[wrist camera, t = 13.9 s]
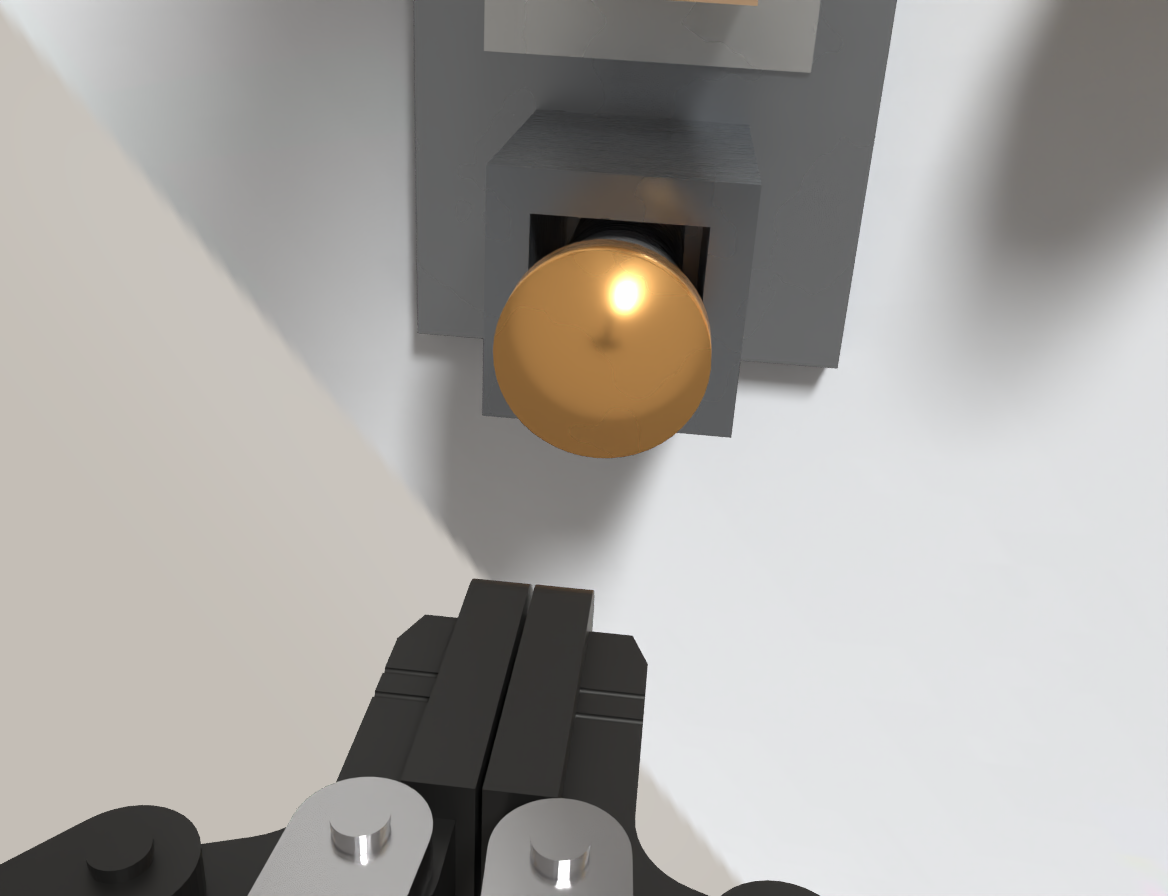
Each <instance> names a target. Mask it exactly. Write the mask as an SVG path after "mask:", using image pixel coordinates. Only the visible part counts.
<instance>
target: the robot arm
mask: <svg viewBox="0 0 1168 896" xmlns="http://www.w3.org/2000/svg"><path fill="white" fill-rule="evenodd" d="M593 612H594V590H585V589H575V588H565V587H555V586H545V585H535V588H534V591H533V590H532V585H531V584H523V583H513V582H503V581H493V580H483V579H472V581H471V583H470V585H469V588H468V591H467V594H466V596H465V599H464V602H463V605H462V608H461V611H460V613H459V617H458V618H453V617H443V616H433V615H424V616H423V617H422V618H421V619H420V620H418V621H417V622H416V623H415V624H414V625H412V626H411V627H410V628H409V629H408V630H407V631H405V632H404V633H403V634H402V635H401V636H400V637H399V638H397V641H396V643H395V646H394V648H393V650H392V653H391V655H390V657H389V659H388V662H387V664H386V667H385V673H383V674H382V676H381V678H380V681H379V683H378V685H377V688H376V690H375V696H374V697H372V699H371V702H370V704H369V707H368V709H367V711H366V713H365V716H364V718H363V720H362V723H361V725H360V728H359V730H358V732H357V735H356V737H355V739H354V742H353V744H352V746H351V749H350V751H349V753H348V756H347V758H346V760H345V763H344V765H343V767H342V770H341V772H340V774H339V777H338V779H337V781H336V783H334V784H331V785H328V786H326V787H324V788H322V789H321V790H319V791H317V792H315V793H314V794H313V795H311V796H310V797H309V798H307V799H306V800H305V801H304V802H303V803H302V804H301V805H300V806H299V808H298V809H297V811H296V812H295V813H294V815H293V816H292V818H291V820H290V822H289V823H288V825H287V827H285V828H283V829H281V830H278V831H275V832H272V833H268V834H264V835H259V836H254V837H249V838H241V839H234V840H227V841H220V842H213V843H206V844H201V842H200V837H199V834H198V831H197V829H196V828H195V826H194V825H193V823H192V822H190V820H189V819H187V818H186V817H185V816H184V815H182V814H180V813H178V812H176V811H174V810H171V809H168V808H165V807H159V806H151V805H138V806H128V807H123V808H118V809H114V810H110V811H107V812H104V813H101V814H99V815H97V816H94V817H92V818H90V819H88V820H86V821H84V822H82V823H80V824H78V825H76V826H74V827H72V828H70V829H68V830H66V831H65V832H63V833H61V834H59V835H57V836H55V837H53V838H51V839H49V840H47V841H45V842H43V843H41V844H39V845H37V846H35V847H34V848H32V849H30V850H28V851H26V852H24V853H22V854H20V855H18V856H16V857H14V858H12V859H10V860H8V861H6V862H4V863H2V864H0V896H708V895H705V894H703V893H700V892H698V891H696V890H693V889H691V888H689V887H687V886H685V885H682V884H680V883H678V882H677V881H675V880H674V879H672V878H670V877H669V876H667V875H666V874H665V873H664V872H662V871H661V870H660V869H659V868H658V867H657V866H656V865H655V864H654V863H653V862H652V861H651V860H650V859H649V858H648V856H647V855H646V853H645V852H644V850H643V848H642V847H641V844H640V842H639V840H638V837H637V833H636V828H635V812H636V799H637V788H638V775H639V763H640V751H641V739H642V727H643V715H644V702H645V690H646V678H647V666H648V664H647V662H646V660H645V658H644V656H643V654H642V653H641V651H640V649H639V647H638V645H637V643H636V641H635V640H634V638H633V636H630V635H620V634H610V633H601V632H592V627H593ZM722 896H820V895H818V894H816V893H814V892H812V891H810V890H808V889H806V888H803V887H800V886H797V885H794V884H790V883H786V882H781V881H769V880H766V881H754V882H749V883H745V884H741V885H739V886H736V887H734V888H732V889H730V890H729V891H727V892H726V893H724V894H723V895H722Z"/></svg>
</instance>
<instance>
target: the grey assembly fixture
mask: <svg viewBox="0 0 1168 896" xmlns="http://www.w3.org/2000/svg"><path fill="white" fill-rule="evenodd" d="M896 3H897V0H758V6H750V5H735V4H719V3H704V2H689V1H673V0H414V61H415V144H416V226H417V309H418V333H424V334H435V335H447V336H459V337H471V338H483V339H484V343H483V410H482V415H484V416H495V417H506V418H517V416H516V415H515V414H514V413H513V411H512V410H511V408H510V407H509V405H508V404H507V402H506V400H505V398H504V396H503V394H502V392H501V390H500V387H499V384H498V381H497V378H496V374H495V368H494V361H493V344H494V335H495V331H496V327H497V323H498V320H499V318H500V315H501V313H502V310H503V308H504V307H505V305H506V303H507V301H508V299H509V297H510V295H511V293H512V292H513V290H514V288H515V286H516V284H517V283H518V282H519V280H520V279H521V278H522V277H523V275H524V274H525V273H526V272H527V271H528V270H529V269H530V268H531V267H532V266H533V265H534V264H535V263H536V262H538V261H539V260H540V259H542V258H543V257H544V256H546V255H548V254H550V253H551V252H553V251H555V250H557V249H559V248H562V247H564V246H567V245H569V243H570V241H571V239H572V236H573V234H574V232H575V229H576V227H577V225H578V222H579V220H580V218H581V217H583V218H596V219H609V220H622V221H635V222H648V223H661V224H674V225H685V240H684V254H683V269H682V272H683V273H684V274H685V275H686V276H687V278H688V279H689V280H690V282H691V283H692V284H693V286H694V287H695V289H696V290H697V292H698V294H699V296H700V297H701V299H702V302H703V304H704V307H705V309H706V312H707V316H708V320H709V324H710V332H711V371H710V376H709V382H708V385H707V388H706V391H705V394H704V396H703V398H702V400H701V402H700V404H699V406H698V408H697V410H696V411H695V412H694V414H693V415H692V417H691V418H690V419H689V421H688V422H687V423H686V424H685V425H684V426H683V427H682V428H681V429H680V430H679V431H678V432H677V433H686V434H697V435H708V436H719V437H730V438H731V434H732V426H733V418H734V410H735V401H736V393H737V385H738V377H739V368H740V360H743V361H755V362H766V363H778V364H790V365H802V366H814V367H826V368H838V362H839V355H840V349H841V343H842V337H843V331H844V324H845V318H846V312H847V306H848V300H849V294H850V287H851V281H852V275H853V269H854V263H855V256H856V250H857V244H858V238H859V232H860V226H861V219H862V213H863V207H864V201H865V195H866V189H867V182H868V176H869V170H870V164H871V158H872V151H873V145H874V139H875V133H876V127H877V121H878V114H879V108H880V102H881V96H882V90H883V83H884V77H885V71H886V65H887V59H888V53H889V46H890V40H891V34H892V28H893V22H894V15H895V9H896Z"/></svg>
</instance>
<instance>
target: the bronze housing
mask: <svg viewBox="0 0 1168 896" xmlns="http://www.w3.org/2000/svg"><path fill="white" fill-rule="evenodd" d="M673 1H689V2H704V3H719V4H735V5H750V6H758V0H673Z"/></svg>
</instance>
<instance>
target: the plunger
mask: <svg viewBox="0 0 1168 896" xmlns="http://www.w3.org/2000/svg"><path fill="white" fill-rule="evenodd" d="M684 240H685V225H674V224H661V223H648V222H635V221H622V220H609V219H596V218H583V217H581V218H580V220H579V222H578V225H577V227H576V229H575V232H574V234H573V236H572V239H571V241H570V243H569V245H567V246H564V247H562V248H559V249H557V250H555V251H553V252H551V253H550V254H548V255H546V256H544V257H543V258H542V259H540V260H539V261H538V262H536V263H535V264H534V265H533V266H532V267H531V268H530V269H529V270H528V271H527V272H526V273H525V274H524V275H523V277H522V278H521V279H520V280H519V282H518V283H517V284H516V286H515V288H514V290H513V292H512V293H511V295H510V297H509V299H508V301H507V303H506V305H505V307H504V308H503V310H502V313H501V315H500V318H499V320H498V323H497V327H496V331H495V335H494V344H493V361H494V368H495V374H496V378H497V381H498V384H499V387H500V390H501V392H502V394H503V396H504V398H505V400H506V402H507V404H508V405H509V407H510V408H511V410H512V411H513V413H514V414H515V415H516V416H517V418H518V419H519V420H520V421H521V422H522V423H523V424H524V425H525V426H526V427H527V428H528V429H529V430H530V431H531V432H532V433H534V434H535V435H537V436H538V437H539V438H541V439H542V440H544V441H546V442H547V443H549V444H551V445H553V446H555V447H557V448H559V449H562V450H564V451H567V452H570V453H573V454H577V455H581V456H587V457H593V458H617V457H625V456H629V455H634V454H638V453H641V452H644V451H646V450H649V449H651V448H653V447H655V446H657V445H659V444H661V443H663V442H664V441H666V440H667V439H669V438H670V437H672V436H673V435H674V434H675V433H677V432H678V431H679V430H680V429H681V428H682V427H683V426H684V425H685V424H686V423H687V422H688V421H689V419H690V418H691V417H692V415H693V414H694V412H695V411H696V410H697V408H698V406H699V404H700V402H701V400H702V398H703V396H704V394H705V391H706V388H707V385H708V382H709V376H710V371H711V332H710V324H709V320H708V316H707V312H706V309H705V307H704V304H703V302H702V299H701V297H700V296H699V294H698V292H697V290H696V289H695V287H694V286H693V284H692V283H691V282H690V280H689V279H688V278H687V276H686V275H685V274H684V273H683V272H682V269H683V254H684Z"/></svg>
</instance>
